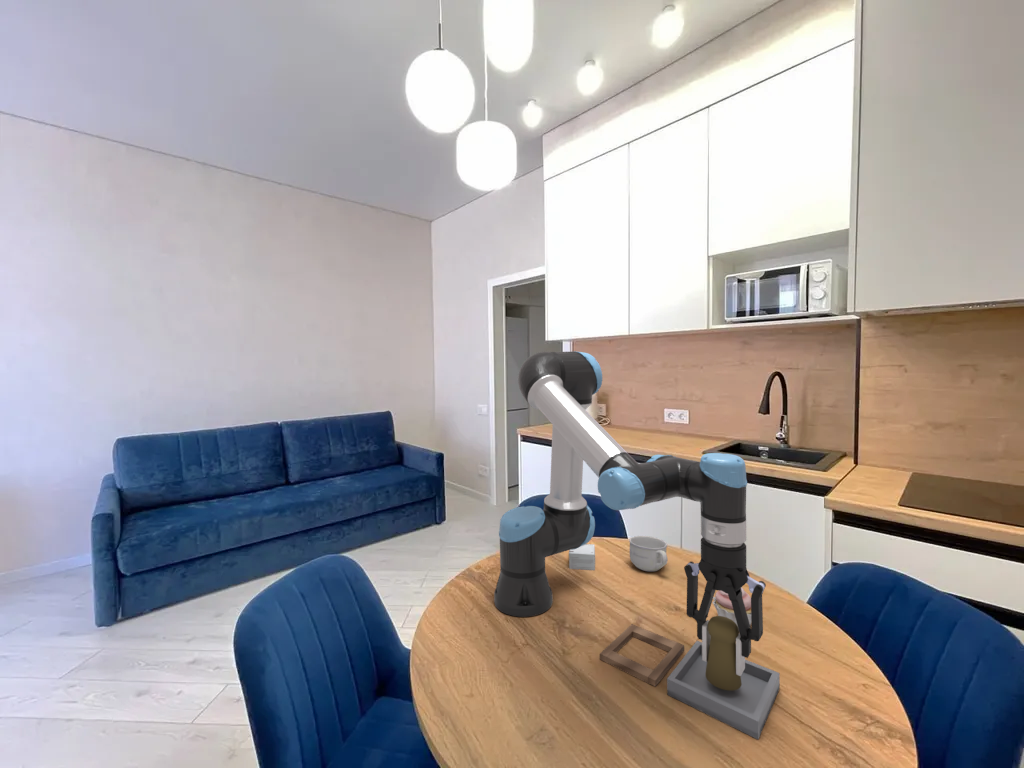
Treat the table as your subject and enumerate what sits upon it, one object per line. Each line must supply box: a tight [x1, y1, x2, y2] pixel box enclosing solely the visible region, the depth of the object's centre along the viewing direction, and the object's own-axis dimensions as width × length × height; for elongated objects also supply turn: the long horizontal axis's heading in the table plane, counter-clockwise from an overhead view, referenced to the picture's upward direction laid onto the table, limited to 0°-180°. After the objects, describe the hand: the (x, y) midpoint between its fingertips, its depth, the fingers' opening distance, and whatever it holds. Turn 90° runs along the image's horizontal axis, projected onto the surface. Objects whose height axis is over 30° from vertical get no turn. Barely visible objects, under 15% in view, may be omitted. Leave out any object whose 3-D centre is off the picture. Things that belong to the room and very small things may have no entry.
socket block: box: [599, 623, 685, 687], centre depth 92 cm, size 12×14×1 cm
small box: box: [568, 543, 596, 571], centre depth 135 cm, size 8×8×5 cm
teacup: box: [628, 535, 668, 572], centre depth 131 cm, size 14×11×8 cm
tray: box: [666, 640, 781, 740], centre depth 81 cm, size 15×15×3 cm
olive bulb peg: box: [705, 615, 742, 691], centre depth 81 cm, size 6×6×11 cm
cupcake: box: [711, 586, 752, 630], centre depth 102 cm, size 9×9×10 cm
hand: (723, 663), depth 81 cm, fingers closed on olive bulb peg, 5 cm apart
